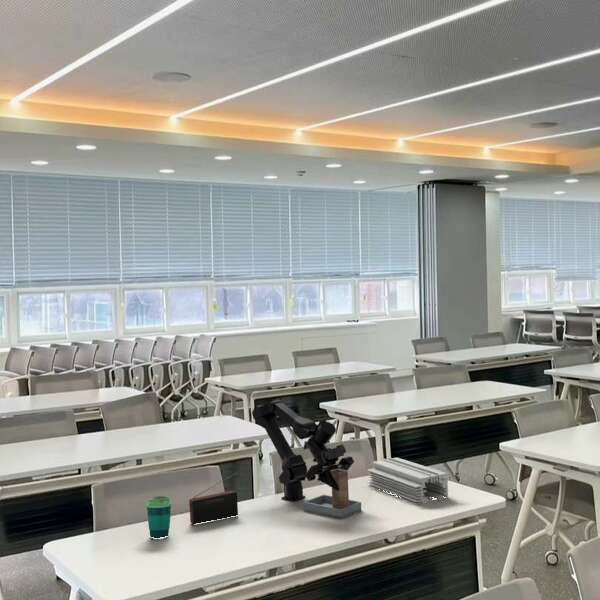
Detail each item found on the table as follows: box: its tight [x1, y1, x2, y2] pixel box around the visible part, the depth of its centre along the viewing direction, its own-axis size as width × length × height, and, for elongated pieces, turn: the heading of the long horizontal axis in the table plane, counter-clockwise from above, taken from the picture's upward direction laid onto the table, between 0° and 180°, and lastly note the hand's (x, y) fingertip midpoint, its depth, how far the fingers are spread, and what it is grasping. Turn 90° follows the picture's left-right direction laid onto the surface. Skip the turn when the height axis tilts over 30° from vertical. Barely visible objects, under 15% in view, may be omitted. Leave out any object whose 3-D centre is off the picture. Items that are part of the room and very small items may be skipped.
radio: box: [188, 471, 240, 525], centre depth 268 cm, size 19×3×15 cm, turn 120°
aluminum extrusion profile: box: [366, 456, 449, 506], centre depth 292 cm, size 14×31×10 cm, turn 28°
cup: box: [145, 495, 173, 538], centre depth 254 cm, size 8×8×12 cm
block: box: [331, 469, 350, 509], centre depth 270 cm, size 4×4×13 cm
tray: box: [302, 493, 362, 520], centre depth 273 cm, size 17×11×3 cm, turn 48°
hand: (342, 488), depth 269 cm, fingers closed on block, 4 cm apart
